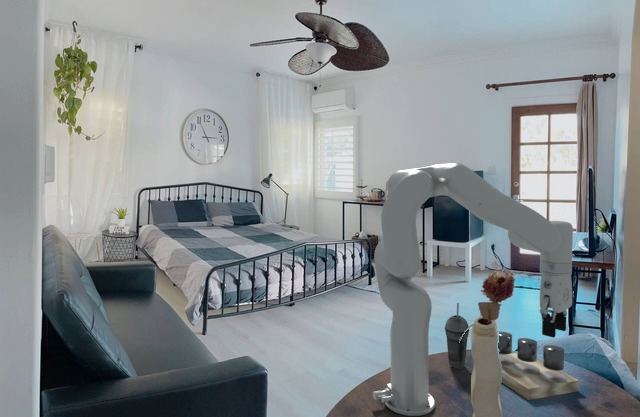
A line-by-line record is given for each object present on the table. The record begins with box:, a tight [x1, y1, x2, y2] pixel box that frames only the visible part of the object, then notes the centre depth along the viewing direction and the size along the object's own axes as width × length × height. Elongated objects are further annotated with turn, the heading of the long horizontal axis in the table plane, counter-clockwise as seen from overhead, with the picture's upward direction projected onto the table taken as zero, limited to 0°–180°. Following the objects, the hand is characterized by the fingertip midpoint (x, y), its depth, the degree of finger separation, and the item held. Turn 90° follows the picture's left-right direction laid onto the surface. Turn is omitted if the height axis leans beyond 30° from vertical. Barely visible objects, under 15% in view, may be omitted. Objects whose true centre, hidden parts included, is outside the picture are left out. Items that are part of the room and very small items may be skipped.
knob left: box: [498, 331, 513, 355], centre depth 129 cm, size 5×5×5 cm
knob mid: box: [516, 337, 538, 362], centre depth 123 cm, size 5×5×5 cm
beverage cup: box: [444, 302, 470, 369], centre depth 133 cm, size 7×7×20 cm
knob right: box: [542, 344, 565, 371], centre depth 118 cm, size 5×5×5 cm
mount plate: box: [500, 352, 579, 401], centre depth 124 cm, size 16×20×3 cm
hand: (554, 332), depth 117 cm, fingers open, 6 cm apart
